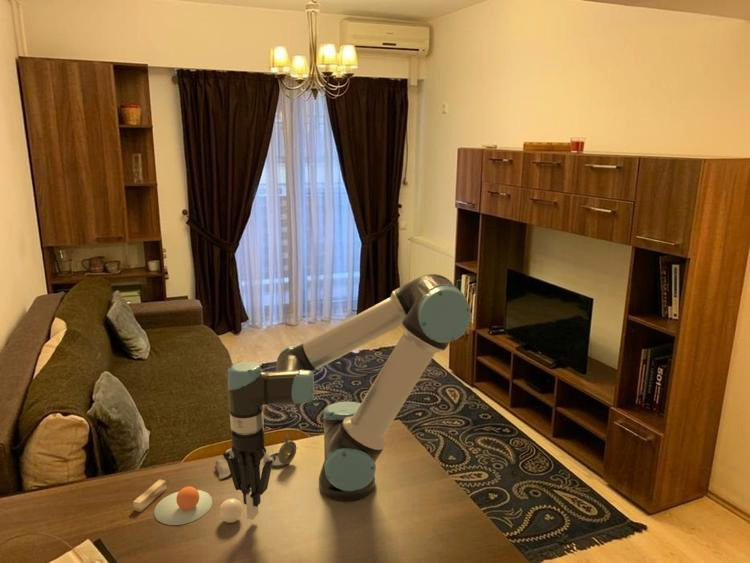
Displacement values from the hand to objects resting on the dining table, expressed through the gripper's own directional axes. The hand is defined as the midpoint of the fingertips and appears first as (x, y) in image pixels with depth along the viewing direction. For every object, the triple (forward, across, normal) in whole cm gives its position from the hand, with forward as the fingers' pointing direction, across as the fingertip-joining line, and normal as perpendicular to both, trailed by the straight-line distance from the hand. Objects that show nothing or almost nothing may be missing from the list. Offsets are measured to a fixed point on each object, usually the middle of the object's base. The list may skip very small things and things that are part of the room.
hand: (252, 515), depth 135 cm
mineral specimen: (+3, -18, +19) cm, 26 cm away
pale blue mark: (+2, -20, 0) cm, 20 cm away
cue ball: (-1, -6, -1) cm, 6 cm away
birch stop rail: (+2, -30, 0) cm, 30 cm away
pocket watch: (+2, -5, +26) cm, 26 cm away
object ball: (-1, -18, 0) cm, 19 cm away
